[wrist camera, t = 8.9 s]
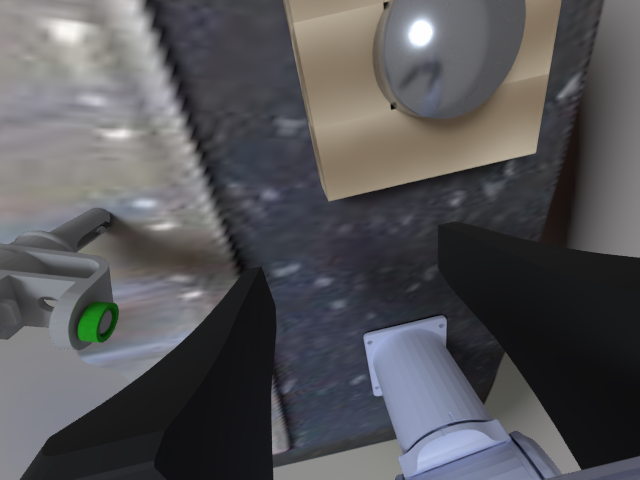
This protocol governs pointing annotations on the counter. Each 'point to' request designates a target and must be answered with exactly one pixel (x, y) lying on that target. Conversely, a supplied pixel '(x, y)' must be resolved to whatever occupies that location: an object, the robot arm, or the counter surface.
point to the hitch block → (393, 125)
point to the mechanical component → (58, 284)
